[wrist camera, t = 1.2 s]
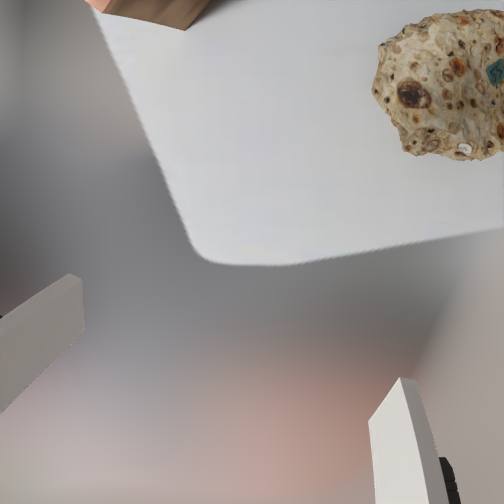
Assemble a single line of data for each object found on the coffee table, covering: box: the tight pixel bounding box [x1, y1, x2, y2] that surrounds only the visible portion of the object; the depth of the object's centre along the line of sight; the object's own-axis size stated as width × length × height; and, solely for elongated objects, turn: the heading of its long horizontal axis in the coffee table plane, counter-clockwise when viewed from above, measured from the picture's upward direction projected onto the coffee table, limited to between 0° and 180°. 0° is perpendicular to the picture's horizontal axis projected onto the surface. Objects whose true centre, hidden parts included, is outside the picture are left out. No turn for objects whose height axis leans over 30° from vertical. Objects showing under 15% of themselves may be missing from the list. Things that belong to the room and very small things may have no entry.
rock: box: [372, 9, 504, 161], centre depth 20 cm, size 21×14×10 cm
